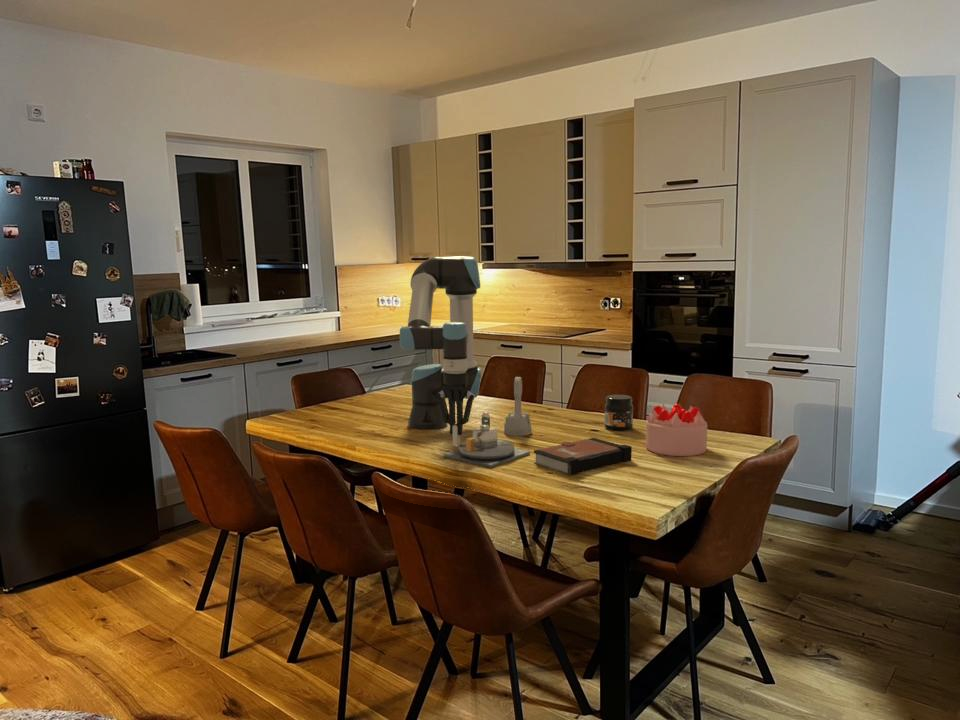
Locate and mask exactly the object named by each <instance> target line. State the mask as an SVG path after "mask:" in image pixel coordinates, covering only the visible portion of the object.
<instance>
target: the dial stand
mask: <svg viewBox="0 0 960 720" xmlns="http://www.w3.org/2000/svg"><path fill="white" fill-rule="evenodd" d="M481 425H489V428H491V417H490V414H489V412H487V411H484V412H482V414H481Z"/></svg>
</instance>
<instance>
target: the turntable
mask: <svg viewBox="0 0 960 720" xmlns="http://www.w3.org/2000/svg"><path fill="white" fill-rule="evenodd" d="M497 441H498V445H497V446H496V447H493V448H476V447H475V438H473V437H467V438H465V441H464V442H460V444H459V445H458V449H459V453H460V454H461V455H462V456H464V457H468V458H473V459H499V458H505V457H508V456H511V455H513V454H514V448H515V444H514V443H513V442H510V441H508V440H503V439H498V438H497Z"/></svg>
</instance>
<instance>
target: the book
mask: <svg viewBox="0 0 960 720" xmlns="http://www.w3.org/2000/svg"><path fill="white" fill-rule="evenodd" d="M560 443H561V442H560ZM632 451H633V450H632V446H631V445H628V444H618V443H614V442H611V441H607V440H603V439H600V438H597V437H589V438H586V439H582V440H578V441H577V440H576V441H572V442H571V441H562V443H561V444H558V445H553V446H548V447H544V448H540V449H536V450H535V449H534V450H533V453H534V454H535V461H534V462H533V464H534V463H535V464H534V465H537V466H541V467H543V468H547V469H549V470H552V471H556V472H558V473H562V474H563V475H567V476H570V477H571V476H574V475H579V474H581V473H584V472H588V471H592V470H596V469H601V468H605V467H608V466H613V465H616V464H620V463H626V462H631V461H632Z"/></svg>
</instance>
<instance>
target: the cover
mask: <svg viewBox="0 0 960 720" xmlns="http://www.w3.org/2000/svg"><path fill="white" fill-rule="evenodd" d="M472 438H475V447H476V448H493V447H496V446H497V445H498V441H497V439H498V429H497V428H495V427H490V428H489V425H482V424H481V425H479V427H477V428H473V430H472Z"/></svg>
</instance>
